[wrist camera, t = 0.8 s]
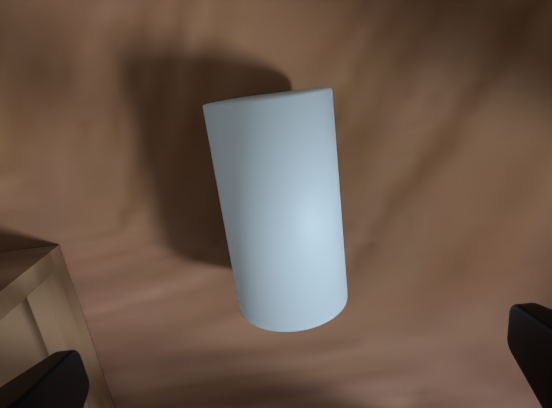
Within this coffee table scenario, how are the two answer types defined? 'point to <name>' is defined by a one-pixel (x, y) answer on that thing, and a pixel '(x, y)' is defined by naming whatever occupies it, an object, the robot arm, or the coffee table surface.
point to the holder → (43, 318)
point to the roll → (281, 205)
